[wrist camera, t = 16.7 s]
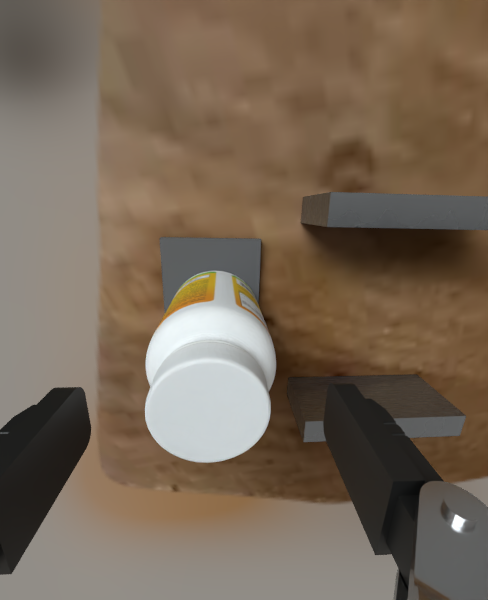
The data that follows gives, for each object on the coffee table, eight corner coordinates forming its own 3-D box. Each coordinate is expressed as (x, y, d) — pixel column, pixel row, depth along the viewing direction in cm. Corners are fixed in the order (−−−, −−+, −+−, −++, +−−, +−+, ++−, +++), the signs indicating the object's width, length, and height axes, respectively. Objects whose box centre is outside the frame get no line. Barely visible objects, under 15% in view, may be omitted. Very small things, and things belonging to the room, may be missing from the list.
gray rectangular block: (260, 238, 17) (261, 239, 17) (254, 366, 20) (255, 370, 19) (161, 237, 17) (159, 237, 16) (170, 368, 19) (168, 372, 19)
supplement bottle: (167, 339, 18) (110, 471, 9) (180, 260, 17) (129, 321, 8) (246, 353, 19) (268, 488, 10) (266, 279, 18) (315, 355, 8)
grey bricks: (459, 201, 17) (536, 198, 13) (412, 391, 22) (459, 435, 17) (303, 196, 17) (331, 192, 12) (286, 394, 21) (303, 442, 17)
